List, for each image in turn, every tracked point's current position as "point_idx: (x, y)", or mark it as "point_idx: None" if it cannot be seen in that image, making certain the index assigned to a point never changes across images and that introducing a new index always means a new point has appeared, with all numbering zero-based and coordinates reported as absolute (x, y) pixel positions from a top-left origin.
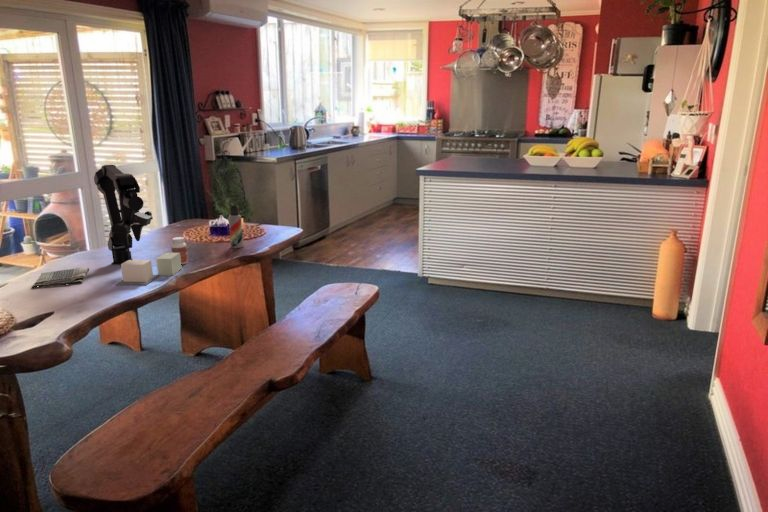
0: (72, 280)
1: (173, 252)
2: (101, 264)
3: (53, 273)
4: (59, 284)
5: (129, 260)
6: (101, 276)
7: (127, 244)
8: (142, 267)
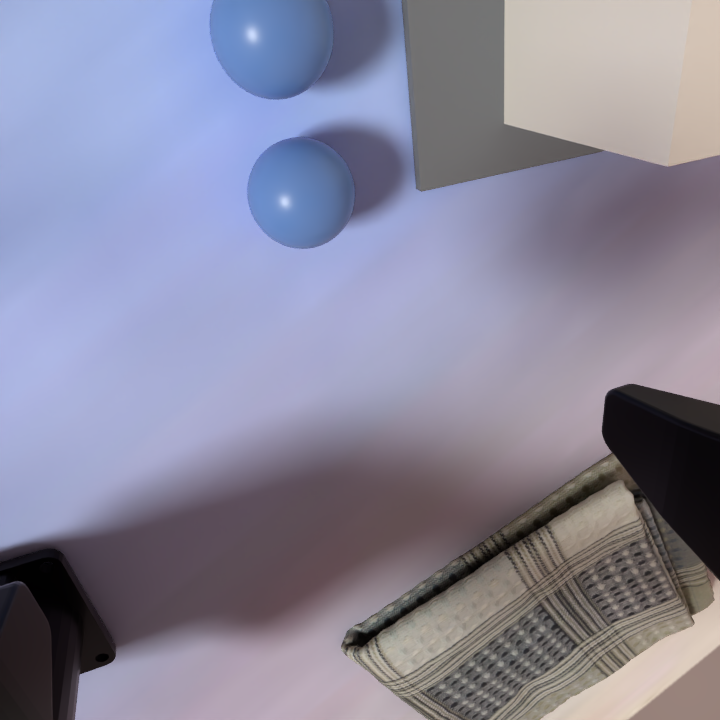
0: None
1: None
2: (152, 701)
3: (504, 706)
4: None
5: (708, 123)
6: (471, 444)
7: (710, 405)
8: None
